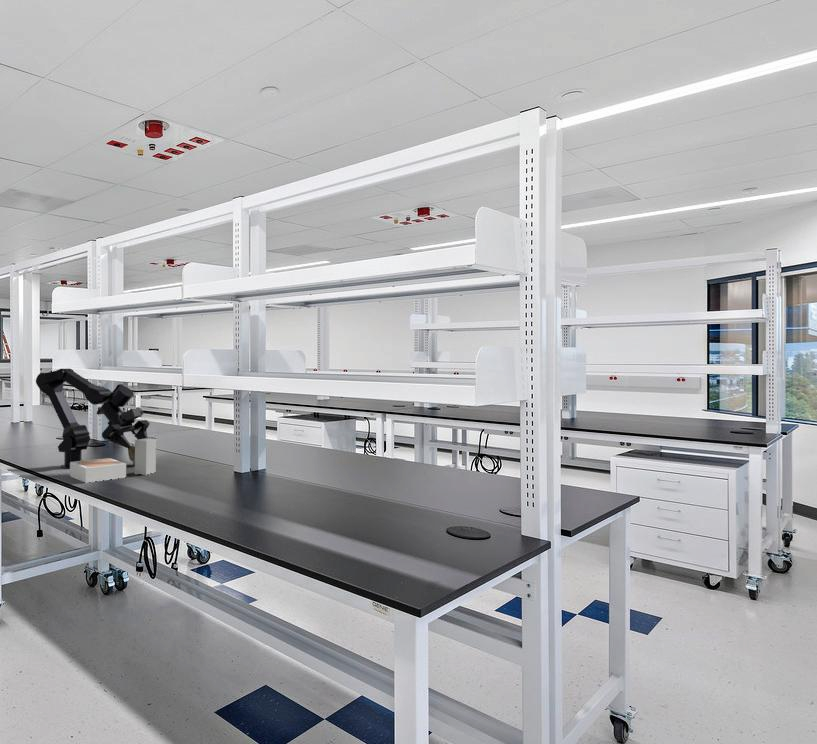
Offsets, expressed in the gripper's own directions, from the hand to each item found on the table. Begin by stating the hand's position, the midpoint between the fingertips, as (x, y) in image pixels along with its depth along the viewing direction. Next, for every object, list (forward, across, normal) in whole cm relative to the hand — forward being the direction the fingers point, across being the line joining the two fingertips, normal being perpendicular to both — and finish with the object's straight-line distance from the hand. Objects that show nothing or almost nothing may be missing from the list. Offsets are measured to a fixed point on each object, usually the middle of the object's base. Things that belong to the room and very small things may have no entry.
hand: (139, 446), depth 212 cm
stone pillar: (+9, 0, +5) cm, 10 cm away
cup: (-1, +11, +15) cm, 19 cm away
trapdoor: (+1, -11, +13) cm, 17 cm away
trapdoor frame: (+1, -11, +13) cm, 17 cm away
